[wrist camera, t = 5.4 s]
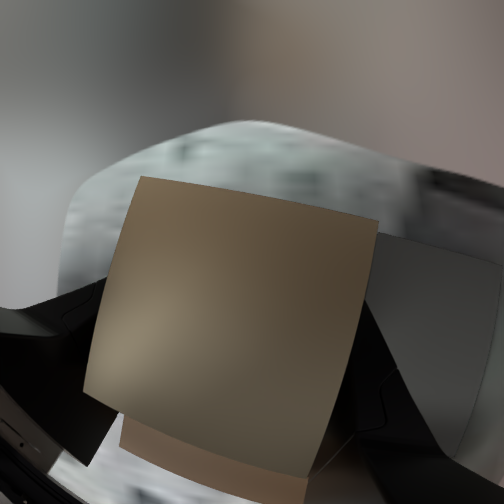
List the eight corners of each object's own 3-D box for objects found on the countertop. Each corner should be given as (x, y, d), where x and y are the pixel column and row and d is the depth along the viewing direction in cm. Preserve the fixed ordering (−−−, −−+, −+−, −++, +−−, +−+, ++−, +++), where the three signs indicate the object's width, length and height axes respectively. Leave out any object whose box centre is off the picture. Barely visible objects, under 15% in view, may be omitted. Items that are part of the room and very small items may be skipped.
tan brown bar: (420, 488, 12) (441, 521, 8) (155, 425, 16) (119, 446, 12) (433, 459, 12) (460, 489, 8) (162, 396, 16) (124, 412, 12)
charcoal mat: (450, 452, 12) (454, 456, 12) (322, 437, 14) (323, 441, 13) (497, 267, 14) (502, 265, 13) (376, 235, 16) (378, 232, 15)
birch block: (308, 374, 15) (306, 479, 4) (222, 350, 16) (83, 391, 5) (333, 283, 16) (380, 210, 5) (246, 262, 17) (144, 167, 6)
